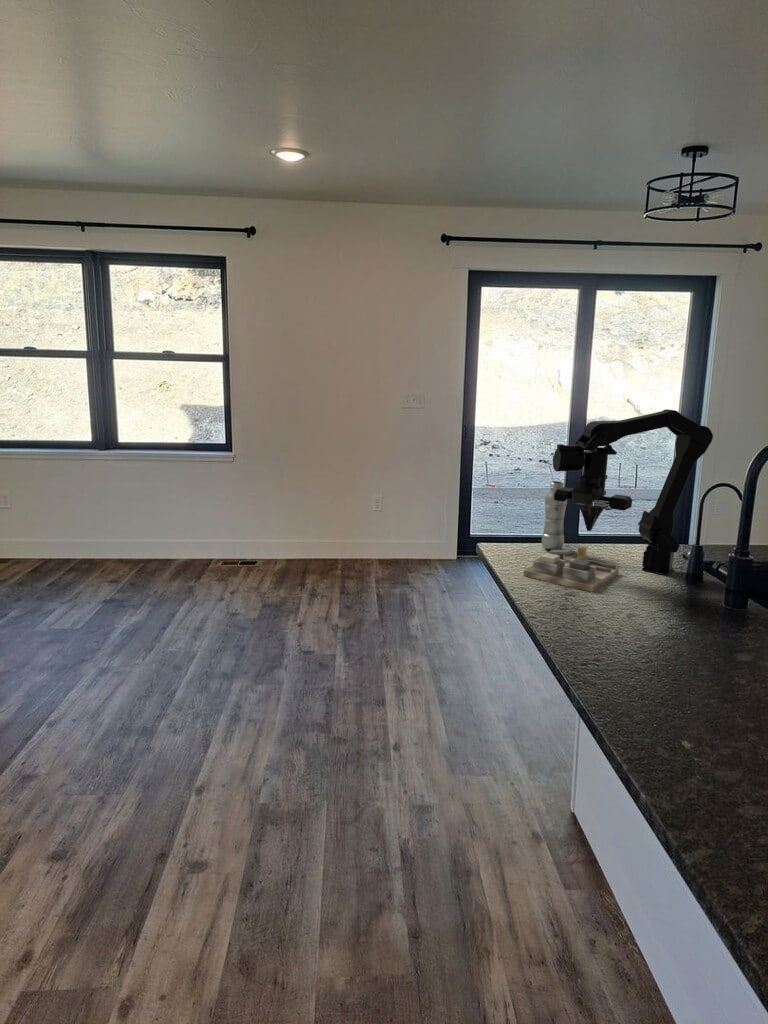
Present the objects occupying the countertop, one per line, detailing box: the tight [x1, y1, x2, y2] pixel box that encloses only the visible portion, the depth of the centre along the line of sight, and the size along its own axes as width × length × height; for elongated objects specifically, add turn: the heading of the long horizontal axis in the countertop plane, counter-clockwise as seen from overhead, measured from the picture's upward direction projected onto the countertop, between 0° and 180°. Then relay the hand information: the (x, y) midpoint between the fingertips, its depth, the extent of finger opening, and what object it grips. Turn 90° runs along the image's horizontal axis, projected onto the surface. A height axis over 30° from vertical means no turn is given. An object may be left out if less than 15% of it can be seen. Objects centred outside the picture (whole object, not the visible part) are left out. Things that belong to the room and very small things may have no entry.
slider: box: [575, 546, 589, 561], centre depth 170 cm, size 3×2×4 cm
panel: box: [523, 554, 620, 593], centre depth 166 cm, size 18×18×4 cm
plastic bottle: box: [541, 480, 568, 551], centre depth 187 cm, size 6×7×20 cm
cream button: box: [539, 552, 560, 564], centre depth 164 cm, size 4×4×2 cm
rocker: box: [547, 549, 573, 555], centre depth 174 cm, size 6×3×1 cm, turn 51°
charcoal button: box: [570, 558, 590, 571], centre depth 159 cm, size 4×4×2 cm
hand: (589, 530), depth 167 cm, fingers closed
